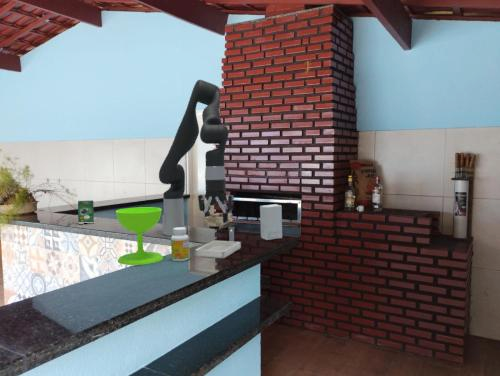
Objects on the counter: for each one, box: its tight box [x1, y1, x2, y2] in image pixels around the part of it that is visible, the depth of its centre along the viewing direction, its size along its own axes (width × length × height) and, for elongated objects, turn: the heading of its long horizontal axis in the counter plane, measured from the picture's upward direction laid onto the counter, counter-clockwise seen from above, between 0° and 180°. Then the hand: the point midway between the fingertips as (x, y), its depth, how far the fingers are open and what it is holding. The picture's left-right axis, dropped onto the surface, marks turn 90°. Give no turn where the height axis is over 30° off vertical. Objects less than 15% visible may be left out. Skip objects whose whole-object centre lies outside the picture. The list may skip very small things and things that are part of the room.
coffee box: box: [77, 200, 95, 223], centre depth 234 cm, size 8×3×13 cm, turn 119°
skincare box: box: [259, 203, 283, 241], centre depth 186 cm, size 8×6×15 cm
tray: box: [194, 239, 242, 259], centre depth 162 cm, size 12×18×2 cm, turn 161°
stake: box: [228, 226, 236, 242], centre depth 177 cm, size 2×2×7 cm
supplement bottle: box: [170, 226, 190, 262], centre depth 151 cm, size 6×6×11 cm
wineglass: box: [115, 206, 164, 266], centre depth 152 cm, size 16×16×18 cm
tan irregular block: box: [203, 212, 234, 228], centre depth 161 cm, size 13×8×3 cm, turn 161°
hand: (216, 222), depth 159 cm, fingers closed on tan irregular block, 6 cm apart
